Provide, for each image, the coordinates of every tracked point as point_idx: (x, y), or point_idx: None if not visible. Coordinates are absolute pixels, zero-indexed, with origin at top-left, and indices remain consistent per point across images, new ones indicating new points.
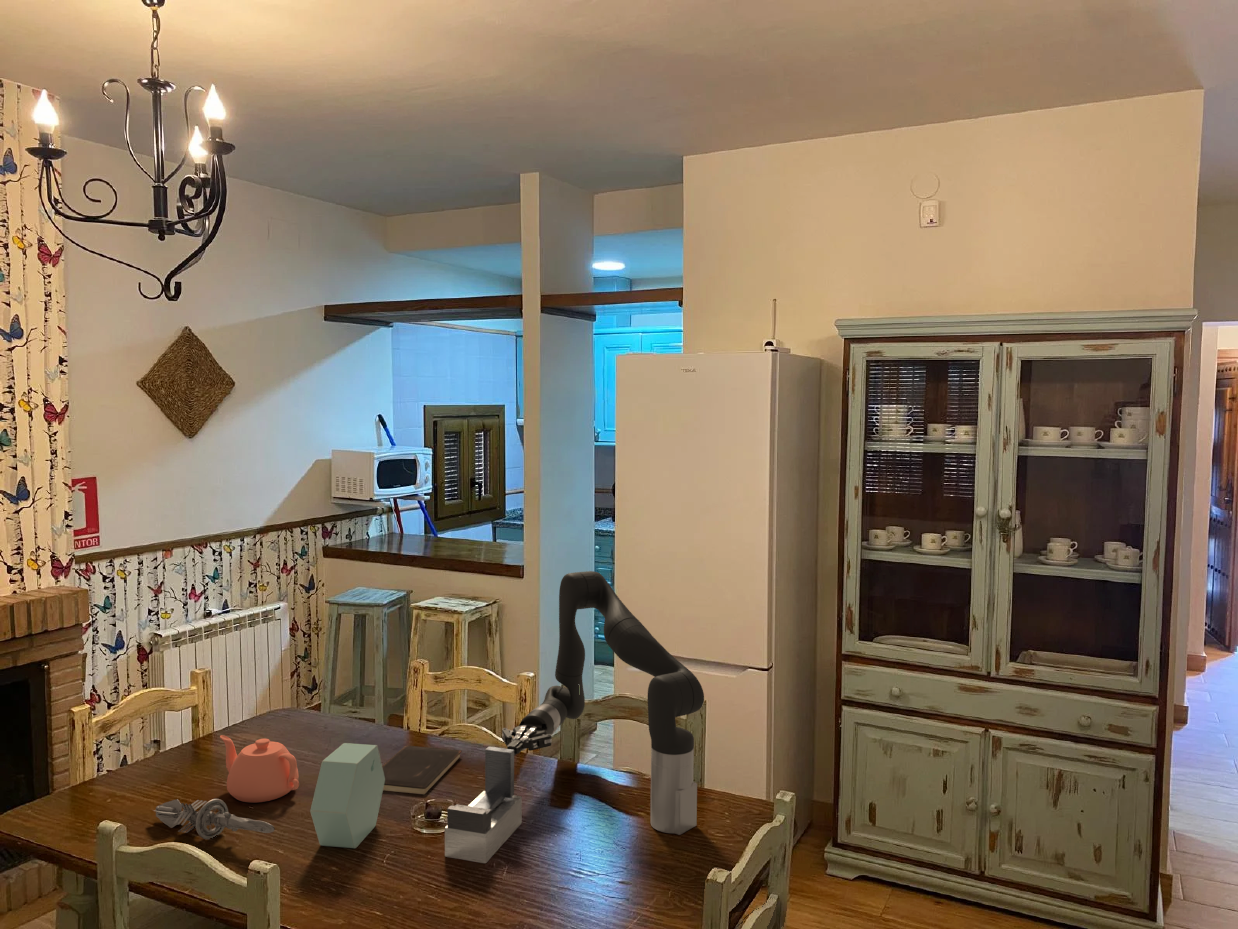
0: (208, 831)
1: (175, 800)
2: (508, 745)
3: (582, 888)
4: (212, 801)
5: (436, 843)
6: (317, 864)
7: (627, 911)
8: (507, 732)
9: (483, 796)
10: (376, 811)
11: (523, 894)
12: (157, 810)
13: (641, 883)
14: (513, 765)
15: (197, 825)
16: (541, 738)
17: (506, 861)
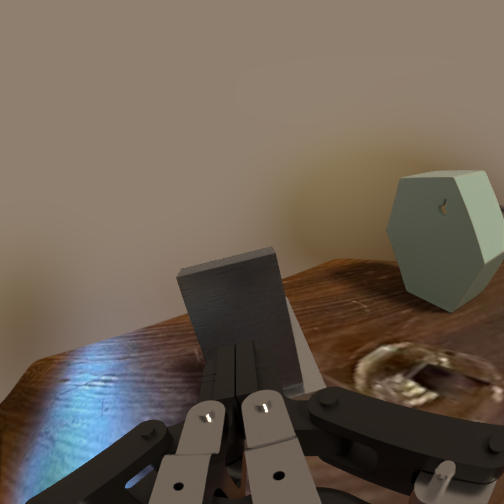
0: None
1: None
2: (267, 354)
3: (105, 363)
4: (501, 206)
5: (335, 344)
6: None
7: (73, 354)
8: (410, 430)
9: (303, 371)
10: (454, 293)
11: (164, 339)
12: None
13: (50, 382)
14: (193, 323)
15: None
16: (83, 469)
17: (203, 366)
